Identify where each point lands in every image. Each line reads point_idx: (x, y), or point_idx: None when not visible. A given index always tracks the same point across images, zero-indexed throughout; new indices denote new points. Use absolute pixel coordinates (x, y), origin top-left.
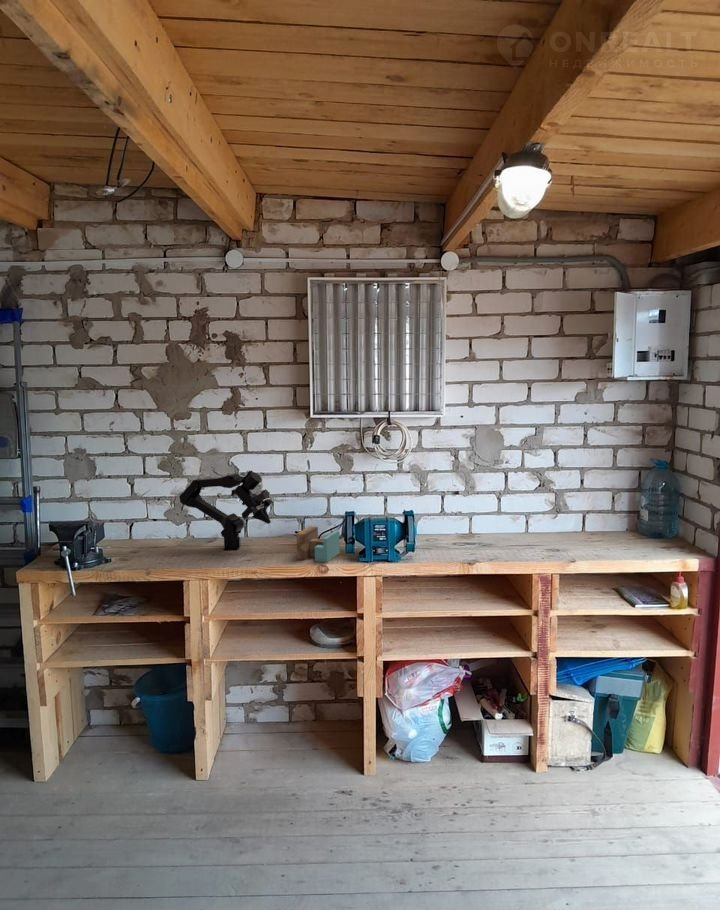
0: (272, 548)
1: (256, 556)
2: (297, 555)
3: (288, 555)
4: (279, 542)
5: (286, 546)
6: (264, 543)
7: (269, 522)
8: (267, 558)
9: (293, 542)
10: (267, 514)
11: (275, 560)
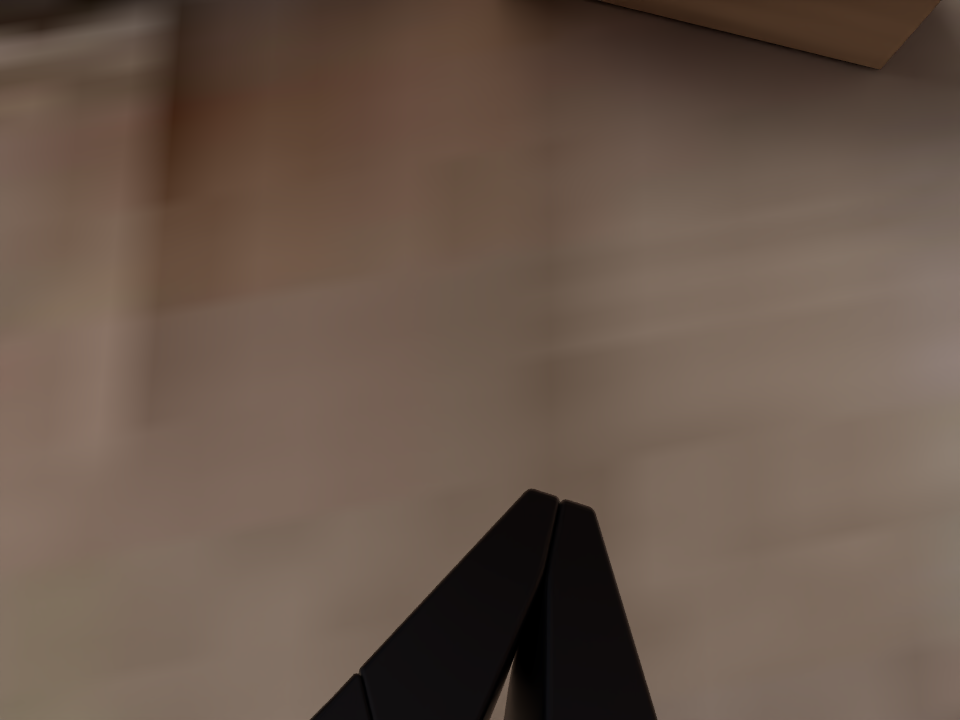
0: (353, 502)
1: (767, 672)
2: (906, 35)
3: (697, 215)
4: (49, 453)
5: (261, 317)
6: (80, 677)
7: (593, 526)
8: (857, 483)
9: (69, 254)
10: (345, 713)
11: (944, 350)
